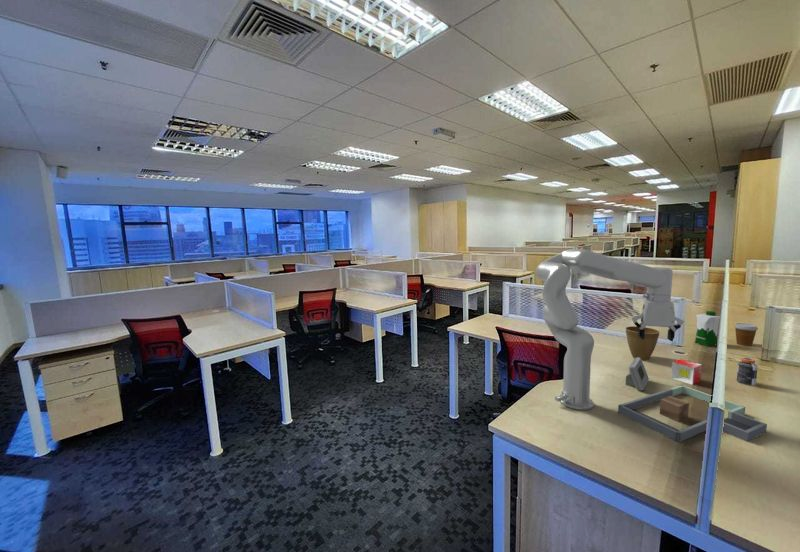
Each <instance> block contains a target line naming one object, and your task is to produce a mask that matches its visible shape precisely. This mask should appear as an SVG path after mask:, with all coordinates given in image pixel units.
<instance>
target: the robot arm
mask: <svg viewBox="0 0 800 552" xmlns="http://www.w3.org/2000/svg"><path fill="white" fill-rule="evenodd" d="M571 270H576V271H579V272H583V273H586V274H590V275H594V276H597V277H601V278H605V279H609V280H614V281H619V282H627V283H628V284H630V285H632V286H637V287H643V288H647V289H646V290H647V291H646V294H642V298H643V299H646V300H644V302H643V305H642V307H641V309H642V310H641V314H638V315H635V316H632V317H631V318H630V319H631V321H632V322H633V324H634V326H637V327H638V328H639V329H638V336H639V337H640V338H641V339H644V333H645V330H644V328H645V327H659V328H661V327H662V328H668V329H667V340H669V341H670V342H674V339H675V335H676V332H677V330H679V329H680V328H681V327H682V325H683V324H684V323H685V321H684V320H682V318H681V319H680V318H678V317H676V316H675V315H676V312H675V305H674V304H675V303H674V302H673V301H672V300H671V299H672V286H673V275H674V274H673V269H671V268H669V267H660V266H659V267H657V266H656V267H655V266H654V267H652V266H648V265H645V264H640V263H636V262H632V261H628V260H626V259H625V260H624V259H621V258H618V257H617V258H616V257H612V256H609V255H605V254H603V253H602V254H601V253H598V252H595V251H592V250H588V249H584V248H583V249H580V248H570V249H566V250H564V251H561V252H559V253H558V254H555V255H554V256H551V257H550V258H547V259H546V260H543V261H542V262H540V264H538V265H537V266H536V269H535V274H536V277H537V279H538V280H540V281H542V282H544V285H543V288H542V291H541V293H542V294H541V296H542V300H543V303H544V304H545V305H544V307H543V309H542V318H543V321H544V322H545V323H546V326H547V327H548V329H549V331H550V333H551V334H552V336H553V337H554V339H555V340H556V341H557V342H558V343H559V344H561V345H563V346H565V347H566V349H567V350H566V352H565V354H564V358H563V385H562V387H563V388H562V391H561V394H560V395H558V396H555V397H554V400H555V402H557V403H558V402H560V403H561V404H562V405H563V406H565V407H567V408H570V409H572V410H573V409H574V410H579V411H588V410H591V409H593V407H594V406H595V404H594V401H593V400H592V399H591V398H590V391H591V389H590V388H591V365H592V354H593V350H594V347H595V340H594V337H593V335H592V334H591V333H590V332H589V331H588V330H586V329H584V328H581V327H579V326H578V324H579V317H578V314H577V312H576V310H575V308H574V307H573V305H572V303H571V302H570V300H569V298H568V296H567V293H566V292H567V291H566V290H567V285H568V283H569V281H570V279H571V275H572V271H571ZM638 320H640V323H639V322H638ZM675 322H676V323H675Z"/></svg>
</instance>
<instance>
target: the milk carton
mask: <svg viewBox="0 0 800 552" xmlns="http://www.w3.org/2000/svg"><path fill="white" fill-rule="evenodd" d="M695 316H696V322H697V323H696V334H695V340H694V343H695V344H697V343H698V345H701V346H705V347H707V346H708V347H713V346H712V345H715V344H716V346H718V334H719V332H718V331H719V324H720V319H721V316H720V315H716V311H714V310H713V311H711V310H706V311H705V313H699V314H696V315H695Z"/></svg>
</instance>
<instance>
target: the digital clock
mask: <svg viewBox="0 0 800 552" xmlns="http://www.w3.org/2000/svg"><path fill="white" fill-rule="evenodd" d="M649 380H650V378H649V375H648V372H647V370H646V368H645V365H644V363H643V360H641V358H639V357H637V358H634V359H633V360H632V362H631V363H630V365H629V367H628V372H627V374H626V376H625V385H626V386H628V387H633V388H636V390H638V391H640V392H641V391H643V390H645V387H646V386H647V384H648V382H649Z"/></svg>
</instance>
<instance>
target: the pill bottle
mask: <svg viewBox="0 0 800 552" xmlns="http://www.w3.org/2000/svg"><path fill="white" fill-rule="evenodd" d="M736 374H737V375H736V381H737V383H740V384H741V385H742V384H743V385H746V386H756V385H757V379H758V378H757V377H758V365H757V364H756V361H755V359H753V358H750V357H741V360H740V362H739V361H738V362H737V372H736Z"/></svg>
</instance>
